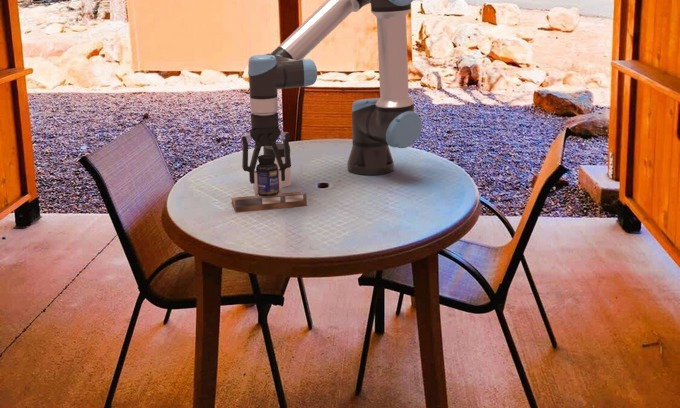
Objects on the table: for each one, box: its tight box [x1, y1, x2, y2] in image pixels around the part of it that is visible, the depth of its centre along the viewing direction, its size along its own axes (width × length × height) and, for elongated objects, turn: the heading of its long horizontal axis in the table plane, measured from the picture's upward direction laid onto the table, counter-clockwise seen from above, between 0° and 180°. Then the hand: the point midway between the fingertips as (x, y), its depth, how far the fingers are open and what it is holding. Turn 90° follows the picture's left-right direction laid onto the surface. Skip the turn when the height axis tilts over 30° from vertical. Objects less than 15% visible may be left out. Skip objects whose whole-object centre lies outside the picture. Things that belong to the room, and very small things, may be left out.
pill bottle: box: [255, 154, 279, 197], centre depth 220 cm, size 6×6×11 cm
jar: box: [262, 142, 292, 188], centre depth 239 cm, size 9×8×12 cm
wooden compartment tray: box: [231, 191, 308, 213], centre depth 221 cm, size 20×9×4 cm, turn 104°
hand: (267, 192), depth 222 cm, fingers closed on pill bottle, 6 cm apart
